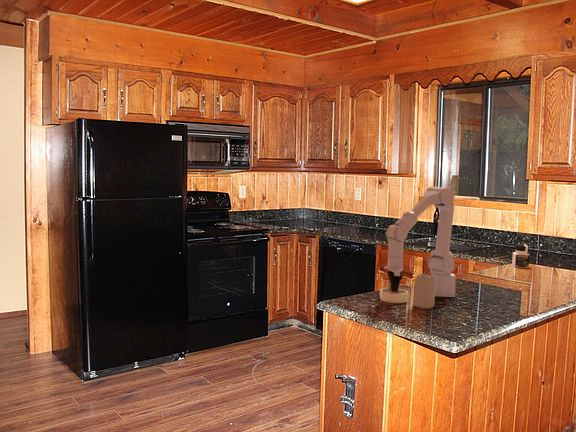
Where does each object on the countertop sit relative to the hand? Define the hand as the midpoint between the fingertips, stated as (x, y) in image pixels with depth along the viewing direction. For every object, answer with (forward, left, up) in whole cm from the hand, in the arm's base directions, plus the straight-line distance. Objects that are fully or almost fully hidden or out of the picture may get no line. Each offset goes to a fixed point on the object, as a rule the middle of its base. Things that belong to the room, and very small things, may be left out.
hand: (394, 290), depth 214 cm
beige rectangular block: (0, 0, -3) cm, 3 cm away
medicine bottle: (-78, -87, -4) cm, 117 cm away
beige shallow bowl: (0, 0, -4) cm, 4 cm away
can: (-10, +9, -4) cm, 14 cm away
